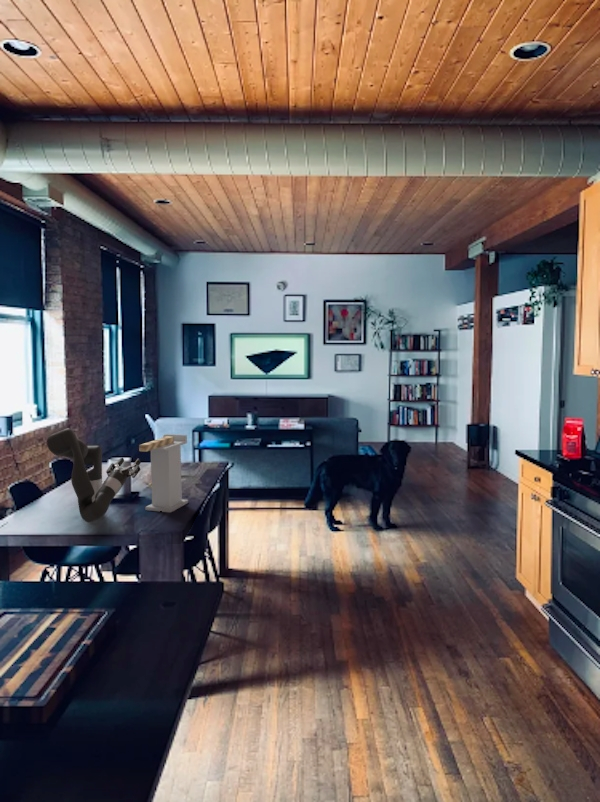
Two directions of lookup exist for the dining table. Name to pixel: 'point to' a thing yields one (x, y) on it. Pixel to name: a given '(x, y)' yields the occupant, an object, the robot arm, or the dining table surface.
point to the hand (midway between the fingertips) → (131, 459)
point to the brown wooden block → (156, 443)
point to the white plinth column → (167, 476)
